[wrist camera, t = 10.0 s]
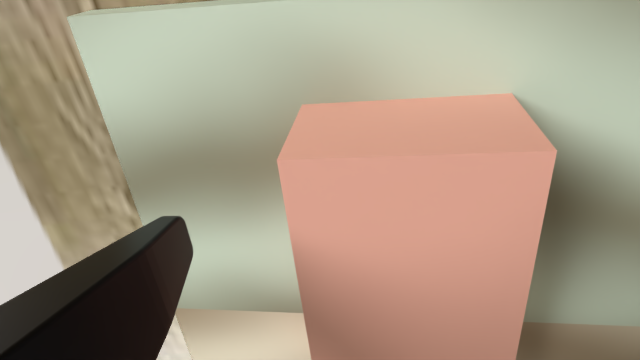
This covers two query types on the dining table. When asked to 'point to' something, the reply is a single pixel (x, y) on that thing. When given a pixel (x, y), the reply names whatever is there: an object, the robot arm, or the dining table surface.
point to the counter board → (370, 85)
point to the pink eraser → (415, 225)
